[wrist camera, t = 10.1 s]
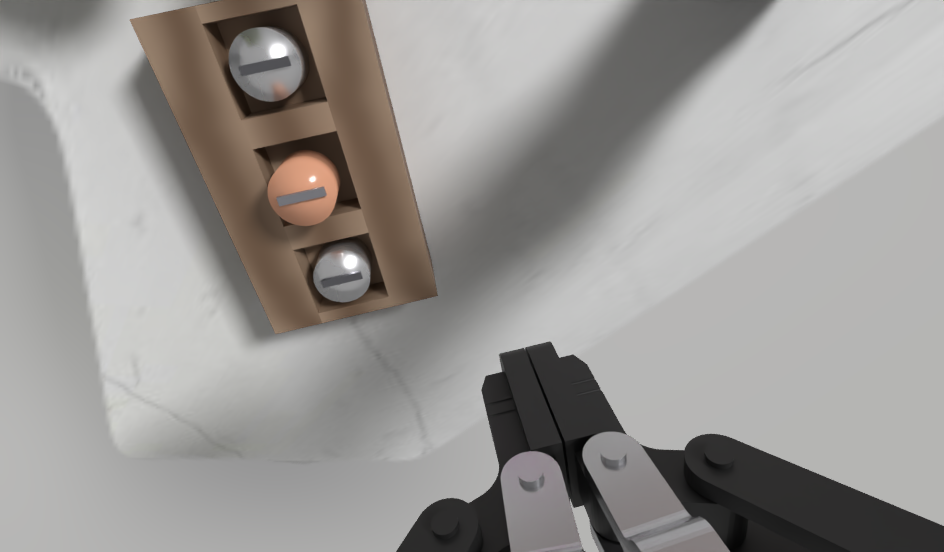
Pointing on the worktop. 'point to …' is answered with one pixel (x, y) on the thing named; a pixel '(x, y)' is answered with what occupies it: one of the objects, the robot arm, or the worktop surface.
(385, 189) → the console
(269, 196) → the terracotta knob
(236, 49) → the metal knob
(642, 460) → the robot arm
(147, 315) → the worktop surface
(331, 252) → the metal knob
